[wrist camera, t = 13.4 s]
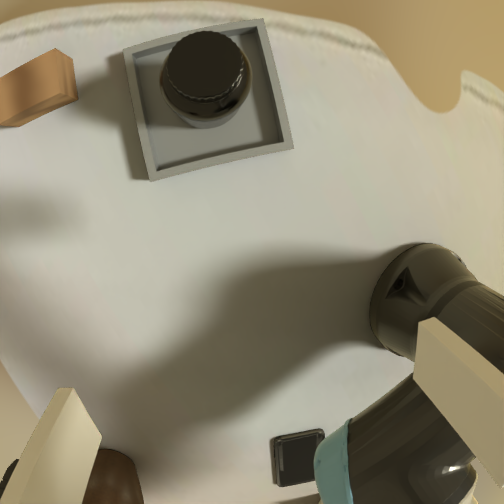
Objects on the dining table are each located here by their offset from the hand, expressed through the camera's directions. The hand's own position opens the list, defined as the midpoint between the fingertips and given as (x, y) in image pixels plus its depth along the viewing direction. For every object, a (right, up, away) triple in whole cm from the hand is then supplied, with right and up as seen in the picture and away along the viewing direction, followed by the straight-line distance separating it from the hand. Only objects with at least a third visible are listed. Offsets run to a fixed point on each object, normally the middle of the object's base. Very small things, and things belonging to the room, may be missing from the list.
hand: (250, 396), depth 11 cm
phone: (+8, -29, +35) cm, 46 cm away
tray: (-4, +20, +18) cm, 28 cm away
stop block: (-22, +22, +16) cm, 35 cm away
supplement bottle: (-4, +20, +18) cm, 27 cm away
